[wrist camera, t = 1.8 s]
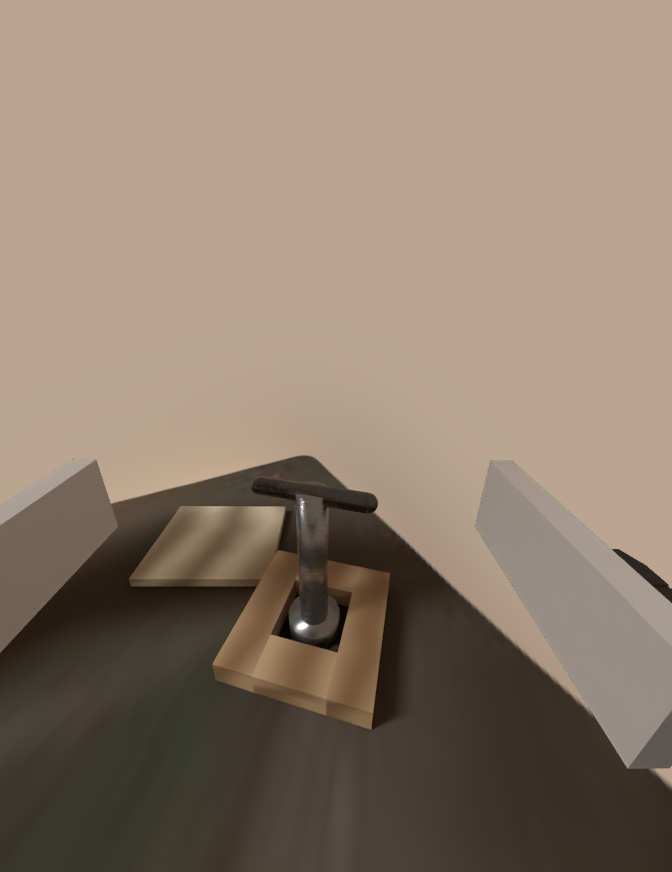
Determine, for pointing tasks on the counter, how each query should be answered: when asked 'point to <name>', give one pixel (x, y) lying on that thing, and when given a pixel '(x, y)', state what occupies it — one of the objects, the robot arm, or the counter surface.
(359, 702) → the holder block
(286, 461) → the counter surface
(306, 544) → the chuck key
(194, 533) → the birch board
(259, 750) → the counter surface
